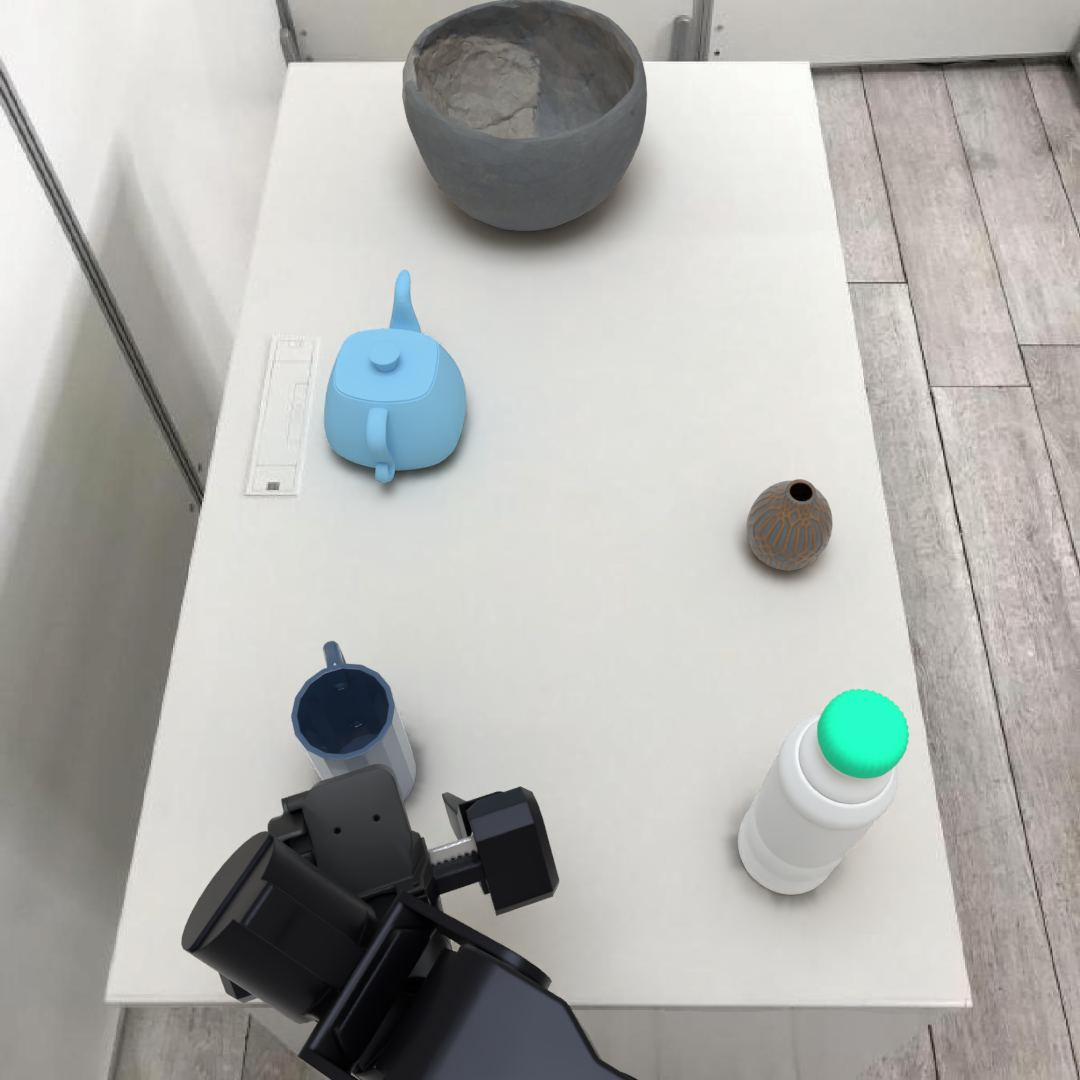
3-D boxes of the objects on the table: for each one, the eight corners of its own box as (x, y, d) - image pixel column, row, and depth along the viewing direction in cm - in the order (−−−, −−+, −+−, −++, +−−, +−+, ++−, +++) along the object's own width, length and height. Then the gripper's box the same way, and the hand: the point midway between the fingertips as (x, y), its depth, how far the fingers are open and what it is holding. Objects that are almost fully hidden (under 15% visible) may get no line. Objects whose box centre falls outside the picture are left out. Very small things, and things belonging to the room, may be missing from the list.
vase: (733, 570, 91) (749, 516, 83) (749, 505, 94) (766, 447, 87) (814, 591, 90) (838, 537, 82) (827, 524, 93) (851, 466, 86)
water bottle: (822, 910, 76) (924, 806, 55) (726, 878, 78) (789, 764, 56) (840, 818, 80) (944, 685, 58) (748, 788, 81) (816, 648, 60)
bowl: (426, 111, 123) (411, -15, 110) (639, 114, 122) (648, -12, 109) (403, 265, 110) (383, 144, 97) (640, 270, 109) (651, 148, 96)
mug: (426, 801, 81) (404, 741, 70) (338, 829, 80) (302, 772, 69) (394, 685, 86) (370, 612, 75) (311, 710, 85) (274, 639, 74)
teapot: (472, 268, 95) (445, 430, 86) (479, 348, 104) (456, 503, 95) (332, 261, 96) (291, 420, 86) (352, 341, 105) (316, 493, 96)
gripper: (540, 765, 51) (487, 661, 66) (148, 892, 48) (185, 753, 63) (592, 960, 54) (529, 818, 69) (224, 1091, 51) (242, 913, 66)
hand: (375, 822), depth 66 cm, fingers open, 9 cm apart
